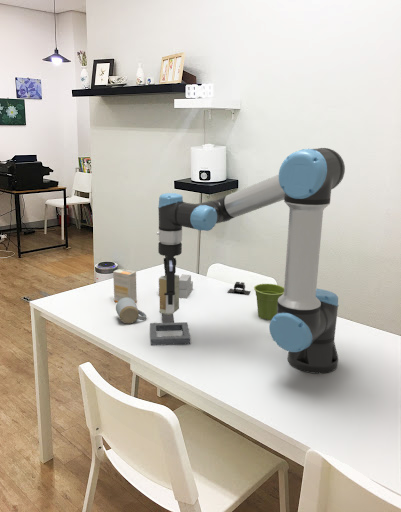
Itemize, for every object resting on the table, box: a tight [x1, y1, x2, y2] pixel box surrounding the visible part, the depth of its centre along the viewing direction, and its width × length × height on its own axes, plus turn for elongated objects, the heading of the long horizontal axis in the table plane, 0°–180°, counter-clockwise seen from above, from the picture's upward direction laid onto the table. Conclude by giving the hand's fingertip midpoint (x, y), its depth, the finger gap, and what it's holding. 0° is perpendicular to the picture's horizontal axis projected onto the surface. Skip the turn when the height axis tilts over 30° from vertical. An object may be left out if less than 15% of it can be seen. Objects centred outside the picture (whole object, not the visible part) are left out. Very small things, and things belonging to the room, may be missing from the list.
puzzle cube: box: [158, 274, 194, 300], centre depth 207 cm, size 12×12×8 cm
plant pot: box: [253, 283, 284, 321], centre depth 183 cm, size 12×12×11 cm
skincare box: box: [159, 274, 180, 315], centre depth 162 cm, size 6×4×12 cm
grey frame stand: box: [149, 313, 192, 346], centre depth 175 cm, size 31×13×2 cm, turn 6°
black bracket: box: [227, 281, 252, 296], centre depth 210 cm, size 12×7×5 cm, turn 73°
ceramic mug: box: [115, 297, 147, 325], centre depth 178 cm, size 11×8×8 cm
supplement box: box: [112, 268, 138, 304], centre depth 194 cm, size 8×5×13 cm, turn 58°
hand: (169, 308), depth 164 cm, fingers closed on skincare box, 7 cm apart
